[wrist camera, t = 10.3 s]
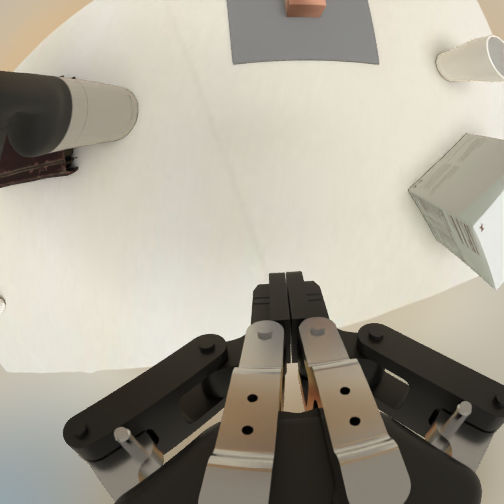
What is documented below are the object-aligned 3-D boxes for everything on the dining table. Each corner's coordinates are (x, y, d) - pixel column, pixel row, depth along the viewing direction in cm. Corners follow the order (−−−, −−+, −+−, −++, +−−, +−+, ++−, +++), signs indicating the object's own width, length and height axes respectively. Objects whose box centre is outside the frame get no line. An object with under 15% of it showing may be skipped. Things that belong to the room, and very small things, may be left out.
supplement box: (438, 243, 44) (494, 294, 28) (405, 189, 41) (470, 226, 24) (491, 188, 39) (554, 219, 22) (465, 131, 35) (537, 144, 19)
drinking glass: (445, 44, 29) (498, 29, 15) (466, 77, 31) (521, 72, 17) (424, 57, 31) (479, 41, 17) (446, 91, 33) (504, 88, 19)
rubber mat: (233, 64, 34) (233, 63, 34) (223, -41, 25) (222, -42, 25) (378, 64, 33) (379, 63, 32) (355, -39, 24) (355, -41, 23)
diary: (81, 171, 42) (65, 177, 38) (5, 185, 43) (-9, 191, 39) (77, 73, 34) (61, 70, 30) (0, 107, 35) (-16, 109, 31)
